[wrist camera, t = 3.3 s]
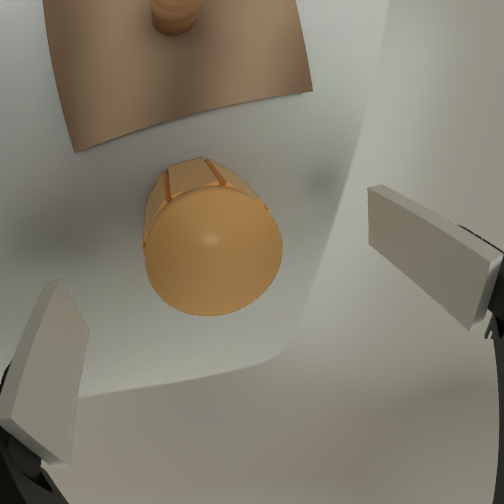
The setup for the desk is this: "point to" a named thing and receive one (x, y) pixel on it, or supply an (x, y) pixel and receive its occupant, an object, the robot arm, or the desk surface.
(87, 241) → the desk surface
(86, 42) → the board
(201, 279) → the fluted orange cylinder
